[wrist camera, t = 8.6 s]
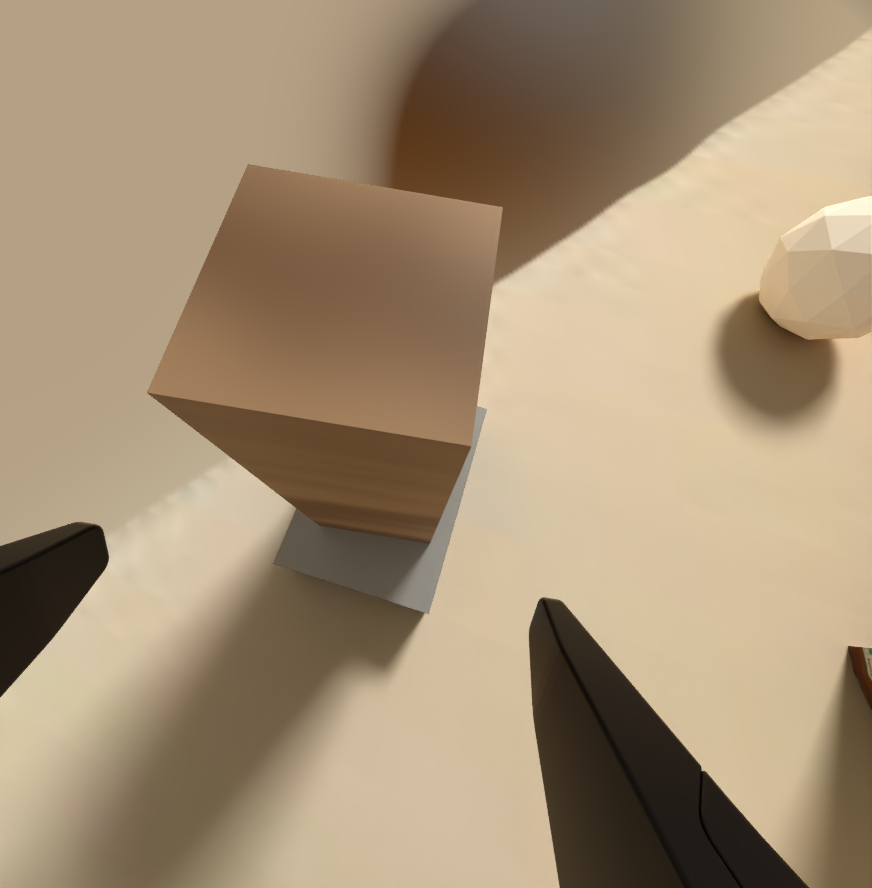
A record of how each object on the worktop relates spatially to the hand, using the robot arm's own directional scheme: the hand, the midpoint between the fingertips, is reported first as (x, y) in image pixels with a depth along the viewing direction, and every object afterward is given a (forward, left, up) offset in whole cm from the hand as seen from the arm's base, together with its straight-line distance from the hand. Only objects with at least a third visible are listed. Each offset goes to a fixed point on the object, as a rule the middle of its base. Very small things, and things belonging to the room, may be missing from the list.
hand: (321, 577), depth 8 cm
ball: (+25, -21, -13) cm, 35 cm away
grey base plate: (+5, +1, -13) cm, 14 cm away
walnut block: (+5, +1, -10) cm, 11 cm away
